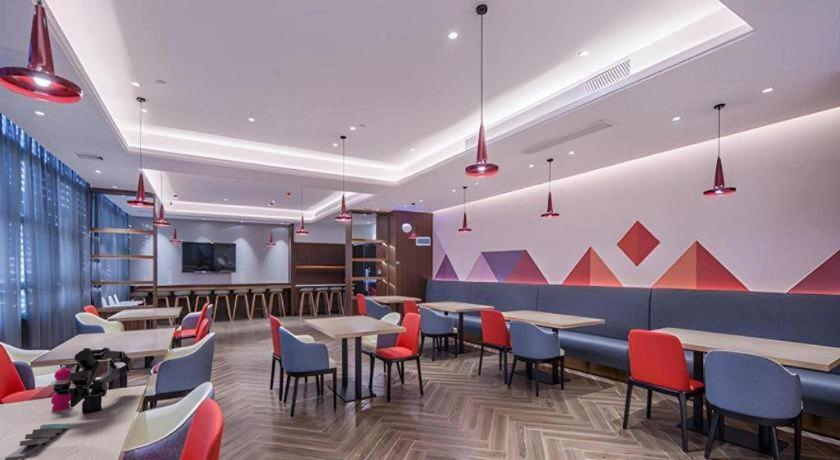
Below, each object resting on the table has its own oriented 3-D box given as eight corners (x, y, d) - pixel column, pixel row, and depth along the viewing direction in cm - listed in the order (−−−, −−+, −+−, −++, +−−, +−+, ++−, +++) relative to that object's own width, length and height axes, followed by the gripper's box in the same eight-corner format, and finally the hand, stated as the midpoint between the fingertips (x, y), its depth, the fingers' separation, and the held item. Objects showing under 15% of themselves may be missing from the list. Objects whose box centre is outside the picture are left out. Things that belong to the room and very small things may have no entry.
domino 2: (33, 439, 151) (20, 441, 143) (50, 437, 153) (38, 439, 145) (32, 443, 151) (19, 446, 142) (49, 441, 153) (37, 444, 144)
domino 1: (25, 444, 147) (5, 457, 138) (41, 443, 149) (22, 455, 139) (25, 449, 147) (4, 462, 138) (41, 447, 149) (22, 460, 139)
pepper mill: (74, 407, 189) (77, 364, 191) (56, 412, 182) (59, 367, 184) (65, 405, 192) (67, 362, 193) (46, 410, 185) (49, 366, 186)
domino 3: (40, 434, 156) (25, 434, 147) (56, 432, 157) (42, 432, 149) (39, 438, 155) (24, 439, 147) (55, 437, 157) (41, 437, 148)
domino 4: (47, 429, 160) (33, 429, 151) (62, 428, 161) (49, 428, 153) (46, 434, 159) (31, 434, 151) (61, 432, 161) (47, 432, 152)
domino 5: (54, 425, 164) (40, 425, 156) (69, 424, 166) (56, 423, 157) (53, 429, 164) (39, 429, 155) (68, 428, 165) (55, 428, 156)
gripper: (56, 365, 174) (36, 399, 163) (105, 362, 178) (89, 396, 167) (67, 377, 181) (49, 412, 170) (114, 375, 185) (99, 408, 174)
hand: (71, 406), depth 170 cm, fingers closed
